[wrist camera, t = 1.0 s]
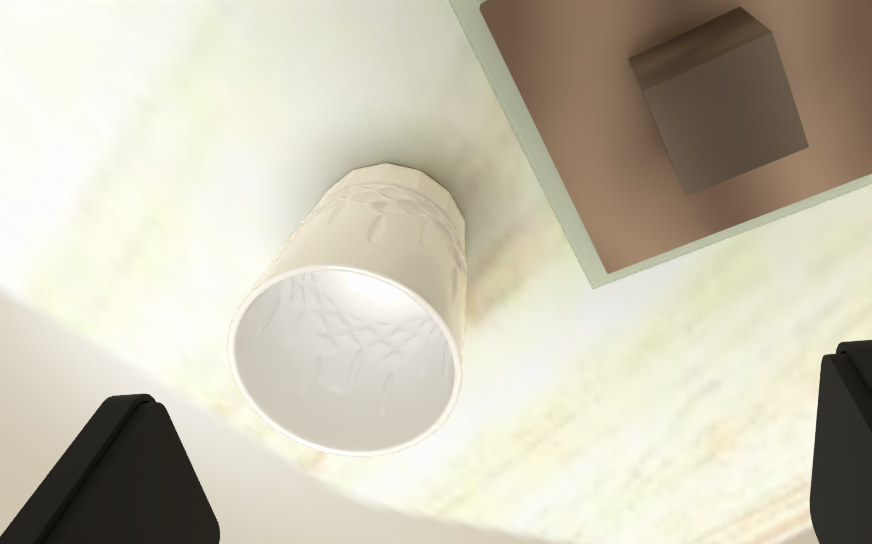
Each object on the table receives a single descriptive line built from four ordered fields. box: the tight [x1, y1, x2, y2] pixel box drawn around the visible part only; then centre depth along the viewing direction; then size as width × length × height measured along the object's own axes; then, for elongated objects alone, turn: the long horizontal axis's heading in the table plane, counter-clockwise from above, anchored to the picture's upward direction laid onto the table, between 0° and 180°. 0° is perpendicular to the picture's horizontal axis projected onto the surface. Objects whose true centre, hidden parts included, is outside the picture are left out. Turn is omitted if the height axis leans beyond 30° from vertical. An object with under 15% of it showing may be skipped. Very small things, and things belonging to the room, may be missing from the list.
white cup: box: [227, 163, 467, 457], centre depth 29 cm, size 8×8×10 cm
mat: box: [449, 0, 872, 289], centre depth 28 cm, size 14×14×1 cm
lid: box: [479, 0, 872, 274], centre depth 26 cm, size 12×12×5 cm
